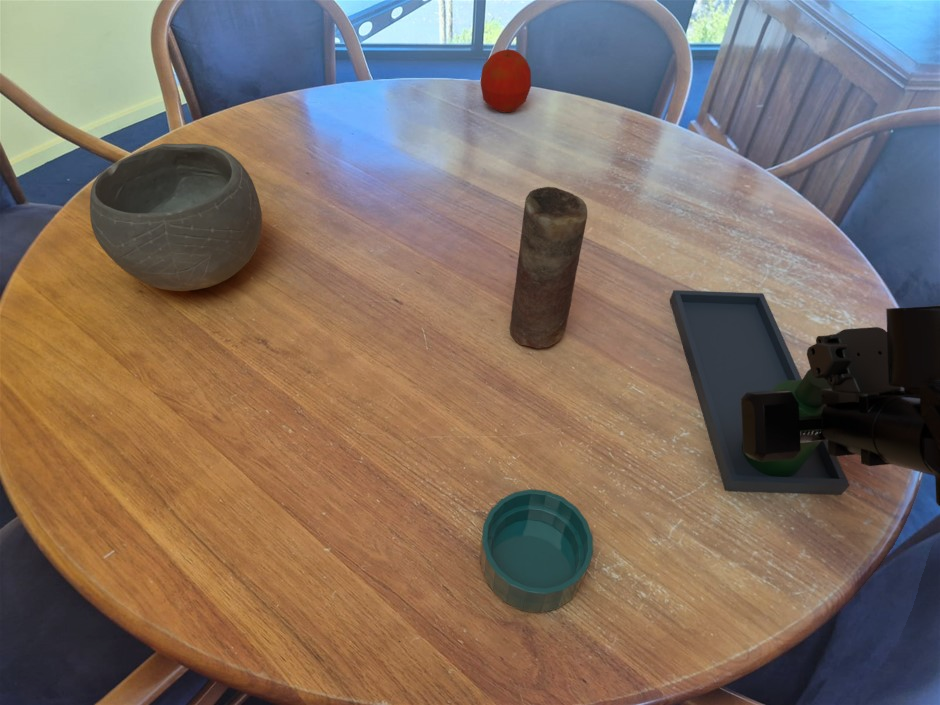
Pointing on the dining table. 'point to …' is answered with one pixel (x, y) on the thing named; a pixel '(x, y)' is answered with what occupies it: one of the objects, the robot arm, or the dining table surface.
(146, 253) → the bowl
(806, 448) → the bottle
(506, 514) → the glazed bowl
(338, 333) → the dining table surface
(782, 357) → the tray
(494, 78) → the apple
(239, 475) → the dining table surface
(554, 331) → the brown textured cylinder
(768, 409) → the robot arm
